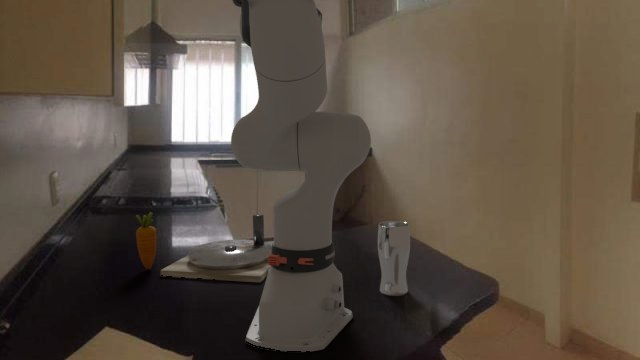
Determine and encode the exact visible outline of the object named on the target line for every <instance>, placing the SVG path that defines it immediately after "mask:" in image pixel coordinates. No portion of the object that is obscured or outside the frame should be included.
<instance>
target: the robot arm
mask: <svg viewBox="0 0 640 360" xmlns="http://www.w3.org/2000/svg"><path fill="white" fill-rule="evenodd" d="M232 2H233V4H234V6H236V7H238V8H241V9H240V10H241V11H240V17H239V32H240V37H241V38H242V41H243V43H244V44H246V45H247V46H249V48H250V49H251V50H250V51H251V55H252V61H253V67H254V71H255V76H256V83H257V89H258V90H257V91H258V99H257V103H256V105H255V106H254V107H253V109H252V110H251V111H250V112H248V113H247V114H246V115H244V116H241V118H240V119H238V121H237V122H236V124H235V125H234V128H233V129H232V132H231V137H230V144H231V151H232V153H233V156H234V159H236V161H237V162H238V163H239V164H240V165H241V167H244V168H247V169H251V170H257V171H262V172H304V173H305V179H304V182H302V183H301V184H300V185H299V186H296V187H295V188H292V189H290V190H288V191H287V192H285V193H283V194H281V195H279V197H278V198H277V199H276V201H275V203H274V206H273V209H272V216H273V217H272V220H273V221H272V222H273V223H272V224H273V225H272V226H273V243H272V244H271V246H272V251H271V254H269V256H268V257H269V258H268V264H269V266H272V267H271V268H270V269H269V270H268V275H267V277H266V279H265V283H264V286H263V288H262V289H263V290H262V294H261V295H260V300H259V305H258V307H257V309H256V310H255V314H254V316H253V318H252V321H251V323H250V325H249V328H248V330H247V333H246V337H245V342H246V341H247V342H249V343H251V344H253V345H256V346H261V347H265V348H271V349H275V350H274V351H276V350H280V351H279V352H287V351H301V352H300V353H306V351H310V352H316V351H322V350H324V349H326V348H327V346H328V345H329V344H330V343H331V342H332V340H334V339H335V337H337V336H338V334H339V333H340V332H341V331H342V330H343V329H344V328H345V326H346V325H348V323H350V321H351V320H352V319H353V318H354V317H353V312H352V310H350V309H348V308H346V307H345V300H344V299H345V296H344V286H343V285H344V281H343V279H344V278H343V274H342V272H341V270H339V269H337V267H336V265H335V264H334V262H335V259H336V258H335V254H336V251H335V249H336V248H335V243H334V242H333V241H332V240H333V236H332V235H333V232H332V229H333V211H334V204H335V199H336V196H337V194H338V192H339V190H340V188H341V186H342V184H343V183H344V181H345V179H346V178H347V177H348V176H349V175H350V174H351V173H352V172H353V171H354V170H356V169H357V168H359V166H361V165H362V164H363V163H364V162H365V160H366V159H367V157H368V155H369V153H370V150H371V146H372V145H371V143H372V138H371V137H372V136H371V133H370V129H369V127H368V125H367V123H366V122H365V120H364V119H363V118H362V117H361V116H360V115H357V114H353V113H349V112H343V111H336V110H335V111H334V110H332V111H331V110H330V111H327V110H326V111H325V110H324V111H322V110H321V111H318V109H319V108H320V107H321V106H322V104H323V103H324V100H325V99H326V96H327V94H328V93H327V92H328V79H327V65H326V62H327V61H326V49H325V47H326V46H325V41H324V40H325V39H324V32H323V29H322V23H323V13H322V12H321V10H319V9H318V7H317V5H316V2H315V0H232Z"/></svg>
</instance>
